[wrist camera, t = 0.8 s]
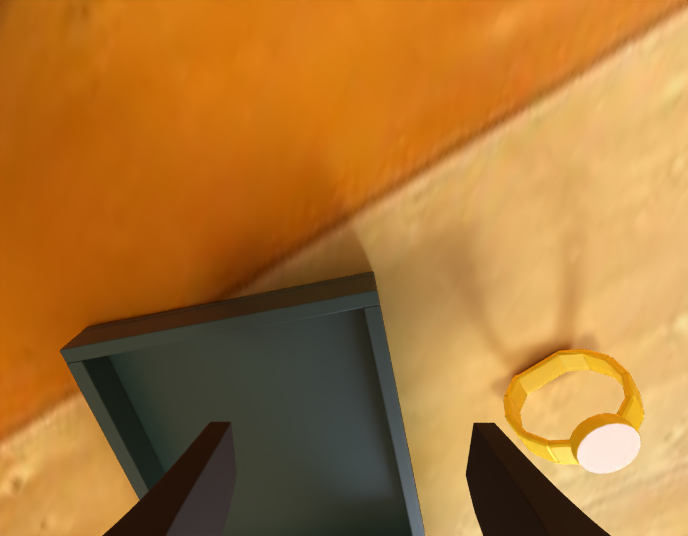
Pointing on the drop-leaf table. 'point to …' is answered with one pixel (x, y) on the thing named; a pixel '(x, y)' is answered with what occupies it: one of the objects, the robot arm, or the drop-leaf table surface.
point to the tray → (264, 405)
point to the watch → (595, 432)
